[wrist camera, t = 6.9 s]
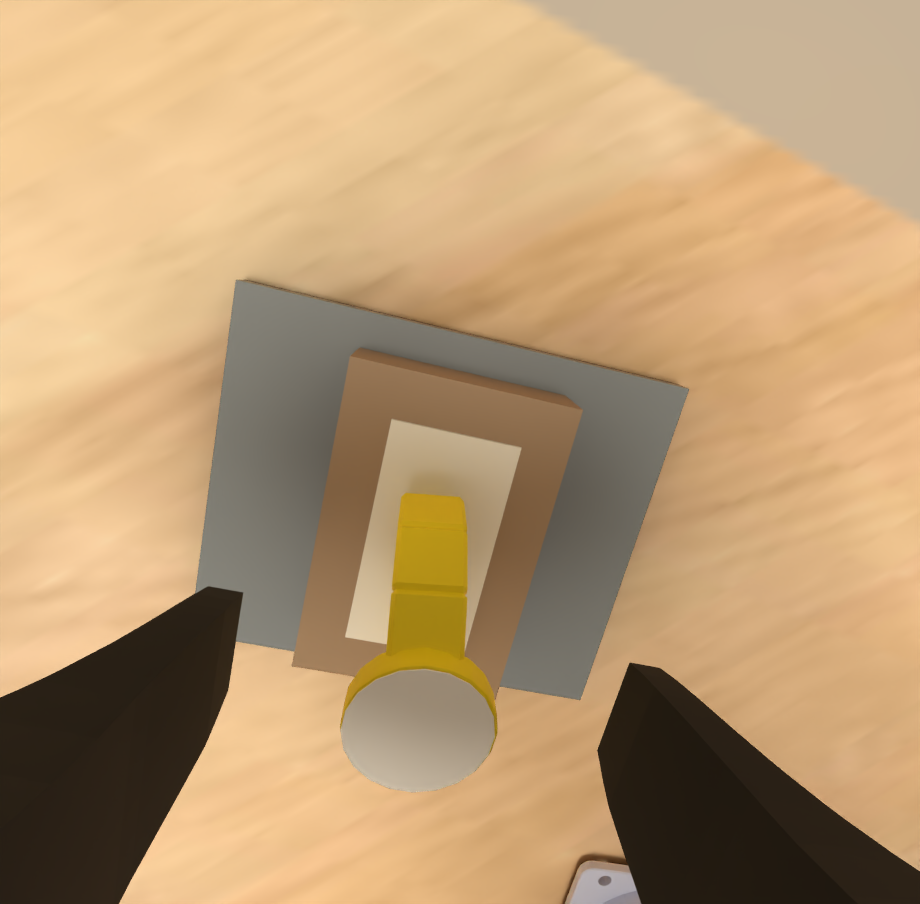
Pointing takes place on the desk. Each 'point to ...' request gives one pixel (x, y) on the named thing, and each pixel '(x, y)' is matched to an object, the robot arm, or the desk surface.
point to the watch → (423, 664)
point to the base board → (424, 483)
